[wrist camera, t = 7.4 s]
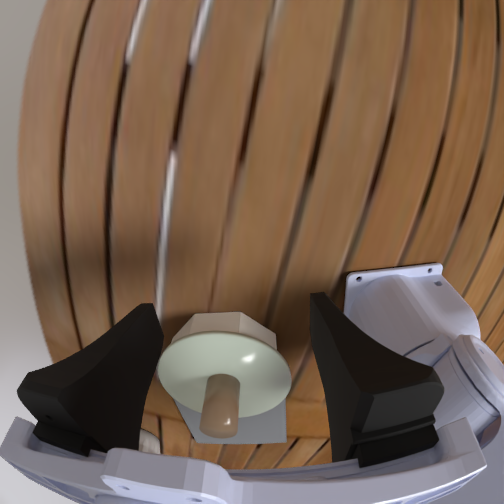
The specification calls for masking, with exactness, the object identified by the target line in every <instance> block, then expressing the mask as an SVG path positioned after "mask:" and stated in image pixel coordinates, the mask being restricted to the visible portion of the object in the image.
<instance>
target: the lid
mask: <svg viewBox="0 0 504 504" xmlns="http://www.w3.org/2000/svg"><path fill="white" fill-rule="evenodd" d="M158 375H159V379H160V382H161V384H162V385H163V387H164V388H165V390H166V391H167V392H168V393H169V394H170V395H171V396H172V397H173V398H174V399H175V400H176V401H178V402H179V403H181V404H182V405H184V406H186V407H188V408H190V409H192V410H194V411H197V412H200V413H202V414H201V420H200V426H199V429H200V431H201V432H202V433H203V434H205V435H207V436H210V437H213V438H221V439H224V438H231V437H233V436H235V435H236V434H237V432H238V418H241V417H249V416H254V415H258V414H261V413H264V412H266V411H268V410H270V409H272V408H274V407H275V406H277V405H278V404H279V403H281V402H282V401H283V400H284V398H285V397H286V396H287V394H288V393H289V390H290V387H291V372H290V368H289V365H288V363H287V361H286V360H285V358H284V357H283V356H282V355H281V354H280V353H279V352H278V351H277V350H276V349H275V348H273V347H272V346H270V345H269V344H267V343H265V342H263V341H262V340H259V339H257V338H254V337H252V336H248V335H245V334H241V333H236V332H230V331H202V332H196V333H192V334H188V335H185V336H183V337H181V338H179V339H177V340H175V341H174V342H172V343H171V344H170V345H169V346H168V347H167V348H166V349H165V350H164V352H163V354H162V356H161V358H160V361H159V365H158Z"/></svg>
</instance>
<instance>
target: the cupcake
mask: <svg viewBox="0 0 504 504" xmlns="http://www.w3.org/2000/svg"><path fill="white" fill-rule="evenodd" d="M139 451H143V452H149V453H156V454H160V443H159V440H158V438H157V437H156V436H154V435H153V434H151V433H150V432H148V431H145V430H143V429H141V430H140V441H139Z"/></svg>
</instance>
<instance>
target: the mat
mask: <svg viewBox="0 0 504 504" xmlns="http://www.w3.org/2000/svg"><path fill="white" fill-rule="evenodd" d="M173 399H174V398H173ZM174 401H175V403H176V405H177V407H178V409H179V411H180V413H181V415H182V416H183V418H184V420H185V422H186V424H187V426H188V428H189V429H190V431H191V433H192V435H193V437H194V438H195V440H196V442H197V443H211V444H262V443H280V442H286V407H285V398H284V400H283V401H282V402H281V403H279V404H278V405H277V406H275V407H274V408H272V409H270V410H268V411H266V412H264V413H261V414H258V415H254V416H249V417H241V418H238V432H237V434H236V435H235V436H233V437H231V438H224V439H221V438H213V437H210V436H207V435H205V434H203V433H202V432H201V431H200V429H199V426H200V420H201V414H202V413H200V412H197V411H194V410H192V409H190V408H188V407H186V406H184V405H182V404H181V403H179V402H178V401H176V400H175V399H174Z"/></svg>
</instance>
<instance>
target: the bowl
mask: <svg viewBox="0 0 504 504" xmlns="http://www.w3.org/2000/svg"><path fill="white" fill-rule="evenodd" d="M202 331H230V332H236V333H241V334H245V335H248V336H252V337H254V338H257V339H259V340H262V341H263V342H265V343H267V344H269V345H270V346H272V347H273V348H275V349H276V350H277V345H276V334H275V333H273V332H272V331H270V330H269V329H267V328H265V327H264V326H262V325H261V324H259V323H258V322H256V321H254V320H253V319H251V318H250V317H248V316H247V315H245V314H244V313H242V312H223V313H201V314H194V315H193V316H192V317H191V318H190V320H189V321H188V322H187V323H186V324H185V325H184V326H183V327H182V328H181V329H180V331H179V332H178V333H177V334H176V335H175V336H174V337H173V339H172V342H174V341H175V340H177V339H179V338H181V337H183V336H185V335H188V334H192V333H196V332H202ZM172 342H171V343H172Z"/></svg>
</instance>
